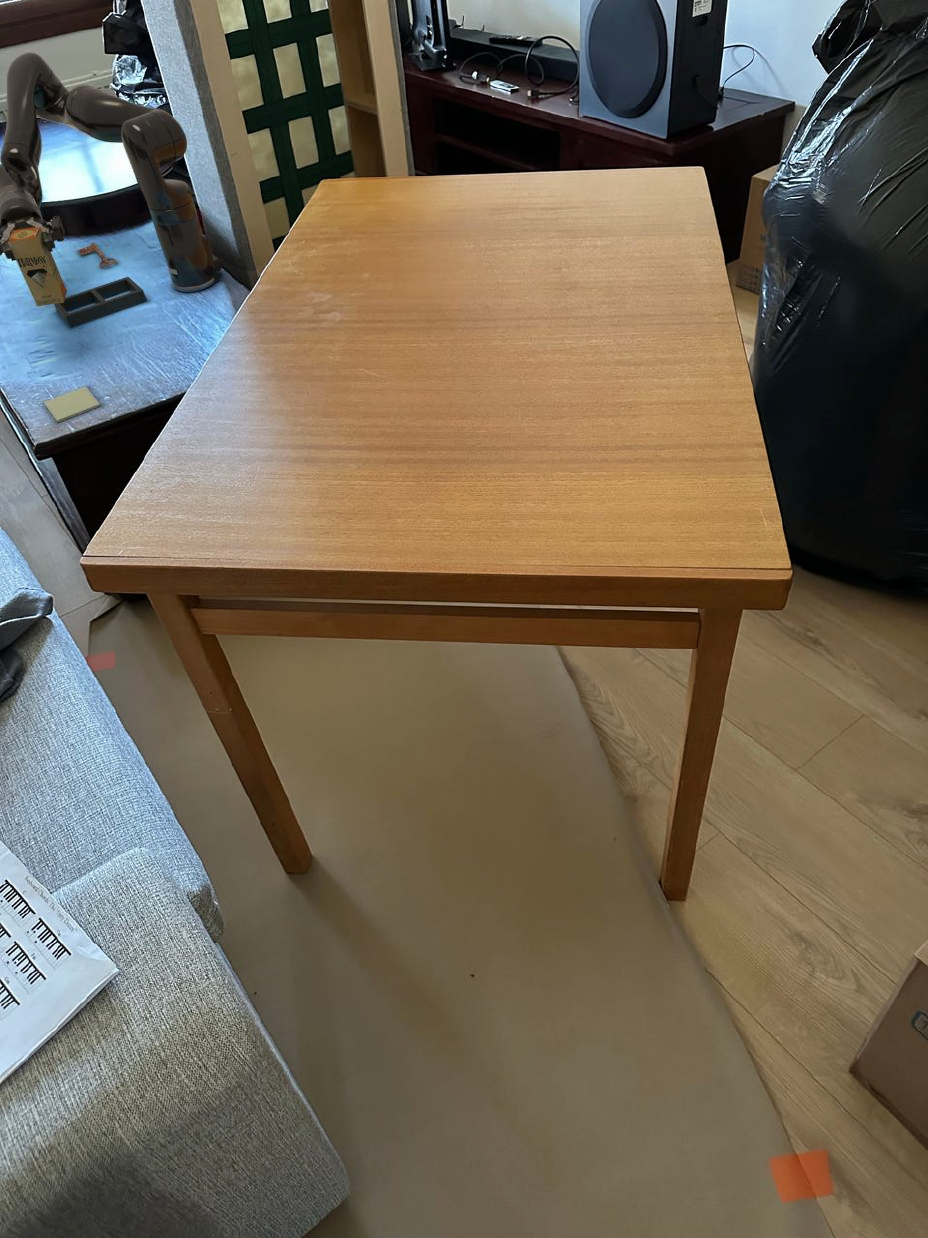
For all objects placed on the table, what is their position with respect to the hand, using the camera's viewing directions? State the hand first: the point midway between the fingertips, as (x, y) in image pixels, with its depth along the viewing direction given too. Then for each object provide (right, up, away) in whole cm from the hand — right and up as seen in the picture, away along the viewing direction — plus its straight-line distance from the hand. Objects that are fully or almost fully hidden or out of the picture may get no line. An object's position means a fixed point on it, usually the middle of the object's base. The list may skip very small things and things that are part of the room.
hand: (30, 250), depth 150 cm
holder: (-1, +2, +32) cm, 32 cm away
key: (-10, +20, +50) cm, 54 cm away
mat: (+5, -26, +5) cm, 27 cm away
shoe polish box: (0, -5, +9) cm, 10 cm away
